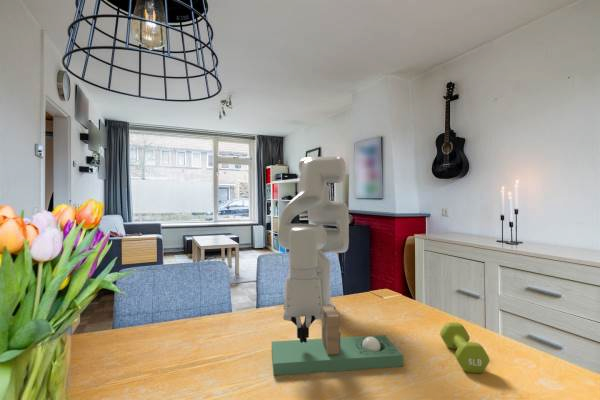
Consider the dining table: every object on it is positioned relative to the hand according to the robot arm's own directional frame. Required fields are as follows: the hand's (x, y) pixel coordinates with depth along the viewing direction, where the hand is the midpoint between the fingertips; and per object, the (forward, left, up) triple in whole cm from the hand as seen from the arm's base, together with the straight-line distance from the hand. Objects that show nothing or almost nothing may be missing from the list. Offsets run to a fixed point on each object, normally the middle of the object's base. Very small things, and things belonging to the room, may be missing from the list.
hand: (302, 340), depth 86 cm
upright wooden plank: (0, +8, -2) cm, 8 cm away
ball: (0, +19, -3) cm, 20 cm away
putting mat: (0, +9, -6) cm, 10 cm away
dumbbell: (+4, +44, -6) cm, 45 cm away
